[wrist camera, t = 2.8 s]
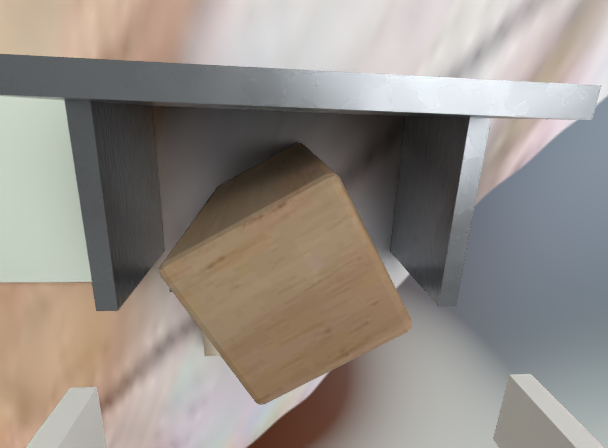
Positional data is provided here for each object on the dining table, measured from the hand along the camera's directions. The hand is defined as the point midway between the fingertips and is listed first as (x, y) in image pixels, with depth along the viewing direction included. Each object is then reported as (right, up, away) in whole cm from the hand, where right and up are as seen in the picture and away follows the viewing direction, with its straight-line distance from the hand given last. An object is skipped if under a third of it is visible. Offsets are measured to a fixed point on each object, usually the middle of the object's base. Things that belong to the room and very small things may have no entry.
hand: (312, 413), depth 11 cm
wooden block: (-3, +8, +26) cm, 27 cm away
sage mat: (-28, +9, +23) cm, 38 cm away
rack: (-3, +9, +25) cm, 27 cm away
